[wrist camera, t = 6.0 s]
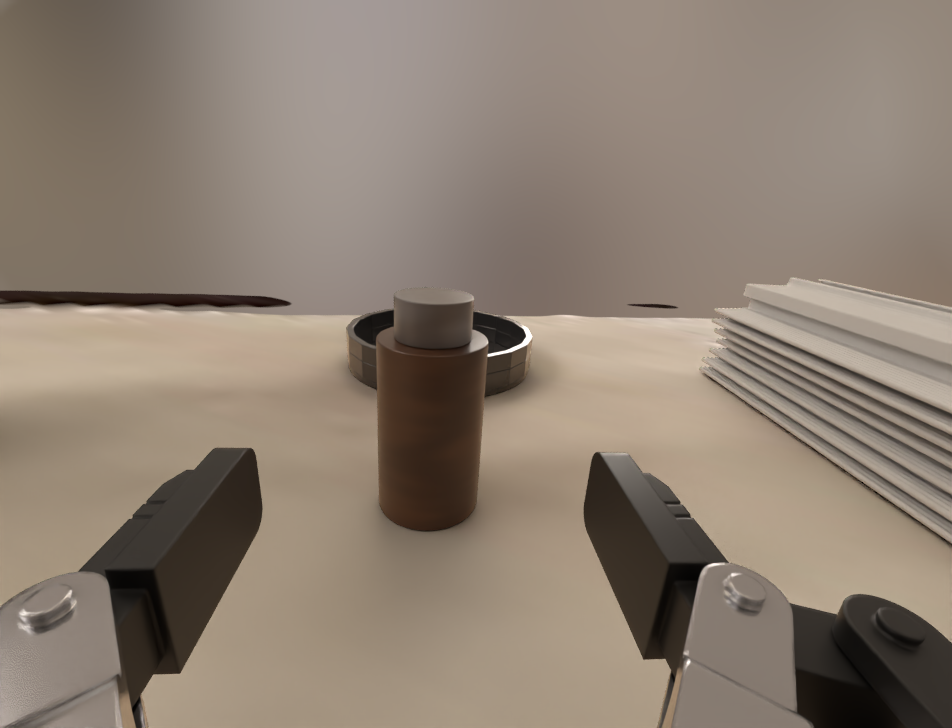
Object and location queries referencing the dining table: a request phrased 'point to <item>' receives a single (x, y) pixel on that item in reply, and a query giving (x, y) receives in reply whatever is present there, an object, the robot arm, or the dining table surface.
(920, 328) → the aluminum extrusion profile
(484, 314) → the pan
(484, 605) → the dining table surface
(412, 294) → the pepper mill
